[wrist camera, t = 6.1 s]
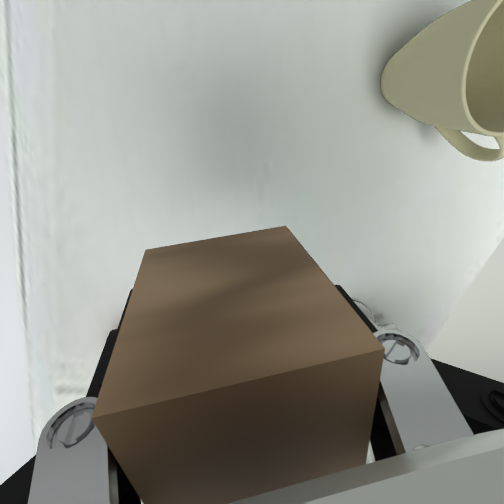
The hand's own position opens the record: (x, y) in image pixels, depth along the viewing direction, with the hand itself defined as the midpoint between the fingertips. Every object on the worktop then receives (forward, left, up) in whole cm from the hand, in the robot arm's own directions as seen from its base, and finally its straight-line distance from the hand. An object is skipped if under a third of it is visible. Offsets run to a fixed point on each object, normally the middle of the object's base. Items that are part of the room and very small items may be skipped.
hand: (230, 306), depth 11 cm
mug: (-22, -6, -22) cm, 31 cm away
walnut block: (0, 0, -1) cm, 1 cm away
